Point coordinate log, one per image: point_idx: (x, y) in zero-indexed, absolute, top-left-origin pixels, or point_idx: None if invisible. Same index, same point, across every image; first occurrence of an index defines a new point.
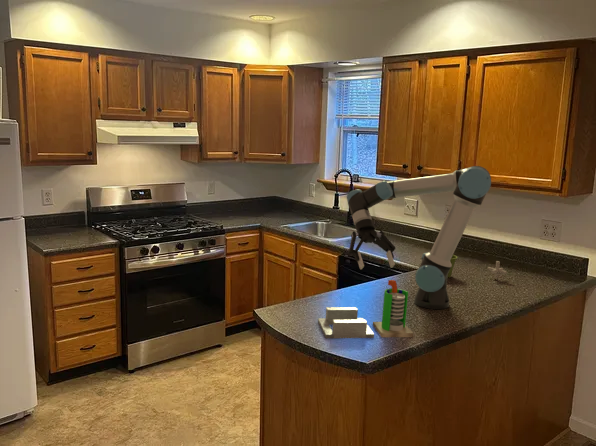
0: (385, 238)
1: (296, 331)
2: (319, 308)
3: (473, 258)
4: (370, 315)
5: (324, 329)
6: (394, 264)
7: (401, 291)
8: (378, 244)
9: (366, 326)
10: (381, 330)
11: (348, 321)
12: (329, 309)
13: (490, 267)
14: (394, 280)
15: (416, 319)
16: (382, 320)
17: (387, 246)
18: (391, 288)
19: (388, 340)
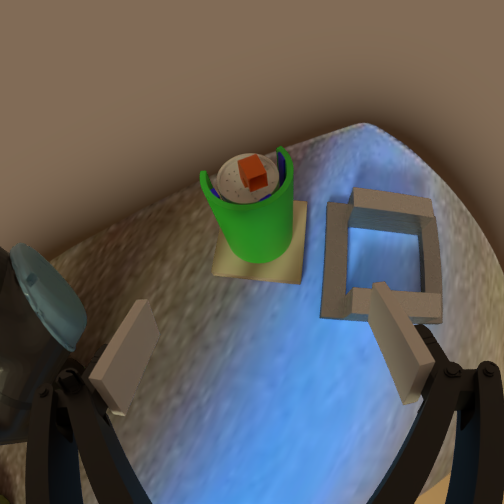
0: (40, 489)
1: (480, 267)
2: (404, 433)
3: None
4: (273, 366)
5: (437, 245)
6: (140, 301)
7: (215, 191)
8: (143, 495)
9: (351, 193)
10: (300, 219)
11: (399, 199)
12: (435, 297)
13: None
14: (241, 163)
15: (153, 308)
16: (292, 226)
17: (80, 417)
18: (245, 210)
19: (296, 190)
